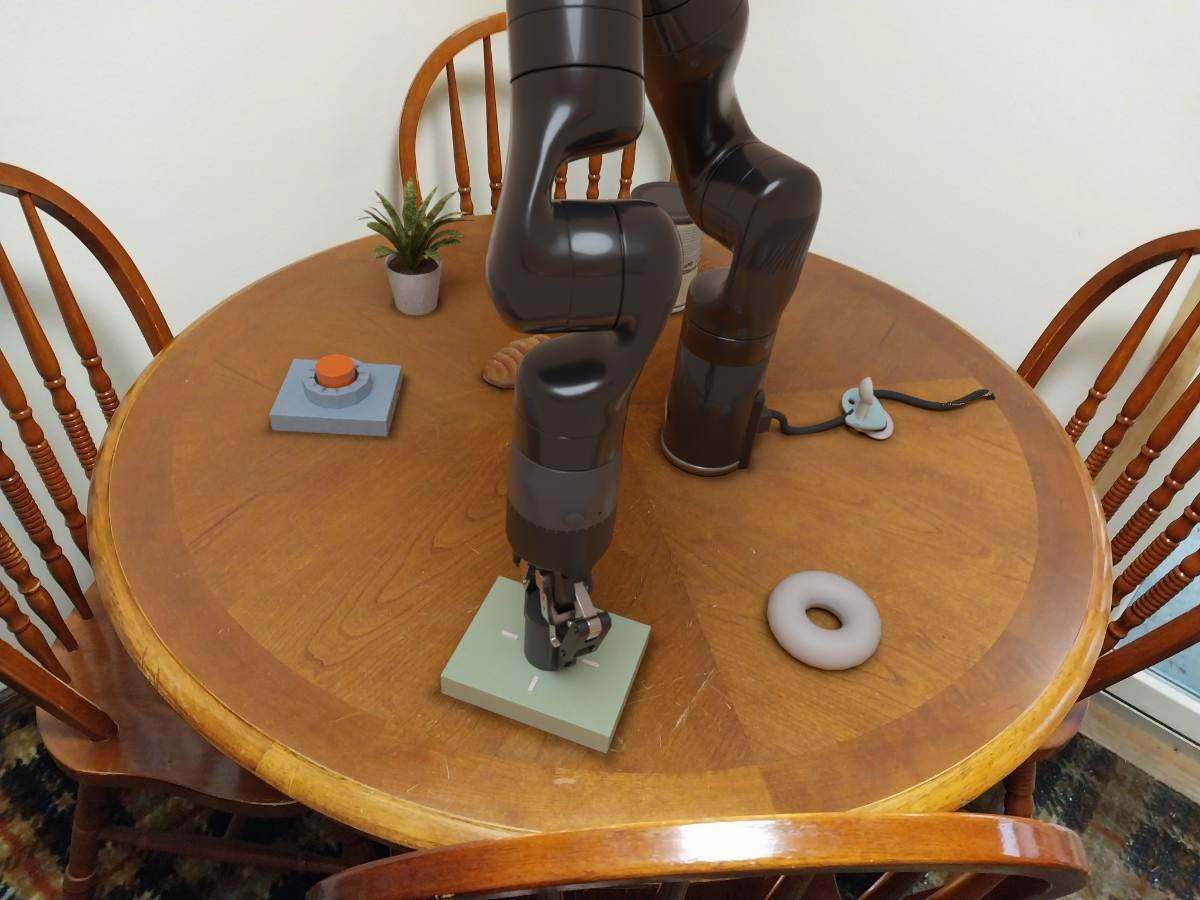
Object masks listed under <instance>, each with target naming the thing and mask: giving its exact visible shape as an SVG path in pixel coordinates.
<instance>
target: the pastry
mask: <svg viewBox="0 0 1200 900" xmlns="http://www.w3.org/2000/svg"><path fill="white" fill-rule="evenodd" d="M549 339H552V337H550V336H549V335H545V334H533V336H530V337H527V338H520V339H519V340H518V339H517V340H512V341H511V342H509V343H508V344H507V345H505V347H503V348H500V350H499V351H497V352H496V353H495V354H493V356H491V357H490V358H489V359H488V360H487V361H486V362H485V363H484V365H483V373H482V378H483V379H484V380H485V382H487V383H489V384H491V385H493V386H495V387H498V388H503V389H512V388H513V389H514V386H515V376H516V370H517V366H518V364H519V361H520V360H521V358H522V357H523V356H524V354H525V353H526V352H527V351H528V350H529V349H531V348H532V347H534V346H535V345H537V344H539V343H541V342H544V341H546V340H549Z"/></svg>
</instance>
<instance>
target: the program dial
mask: <svg viewBox="0 0 1200 900" xmlns="http://www.w3.org/2000/svg"><path fill="white" fill-rule="evenodd" d="M554 605H557V604H554V603H553V606H554ZM570 620H572V619H570ZM568 621H569V620H567V621H564V622H562V623H561V628H563V627H566V626H568ZM549 637H550V633H549V623H548V622H547V621H546V619H545V618H544V616H543V615H542V611H541V598H540V589H538V590H536V591H535V592H533V593H532V594H531V595H530V597H529V598H528V600H527V603H526V612H525V635H524V654H525V657H526V658H527V660H528V661H529V663H530V664H531V665H533V666H534V667H536V668H538V669H540V670H543V671H552V670H551V669H550V667H549V665H548V663H547V657H548V647H549ZM555 671H557V670H555Z"/></svg>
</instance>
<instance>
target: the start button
mask: <svg viewBox="0 0 1200 900" xmlns="http://www.w3.org/2000/svg"><path fill="white" fill-rule="evenodd" d="M351 358H352V357H351ZM351 358H350V356H348V355H345V354H341V353H340V354H339V353H336V354H335V353H333V354H328V355H325V356H323V357H321V358H319V359H317V360H318V361H317V363H316V365H315V370H316V376H317V381H318V383H319V384H320V385H321V386H323V387H325V388H336V389H337V388H341V387H345V386H349V385H350V384H352V383H353V382H354V381H355V379H356V374H355V366H354V361H353V360H352V359H351Z"/></svg>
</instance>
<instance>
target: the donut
mask: <svg viewBox="0 0 1200 900" xmlns="http://www.w3.org/2000/svg"><path fill="white" fill-rule="evenodd" d="M811 608H812V609H813V608H819V609H823V610H826V611H829V612H830V613H832V614H833V615H834V616H836V617H837V618H838V620H839V621H840V622H841V627H840V628H837V629H827V628H823V627H821V626H819V625H817V624H815V622H813V621H812V620H811V619H810V618H809V616H808V615H807V613H806V611H807V610H809V609H811ZM766 610H767V611H766V617H767V621H768V624H769V625H768V626H769V628H770V631H771V633H772V634H773V636H774V638H775V639H776V641H777V642H778V644H779V645H780V646H781V648H783V649H784V650H785V651H786V652H787V653H788V654H790V656H791V657H793V658H795V659H797V660H799V661H800V662H802V663H804V664H806V665H807V666H811V667H814V668H818V669H822V670H825V671H843V670H847V669H850V668H853V667H857V666H859V665H862V664H863V663H864V662H865V661H867V660H868V659H869V658H871V657H872V656H873V655H874V653H875V652H876V650H877V648H878V646H879V644H880V642H881V639H882V619H881V616H880V614H879V611H878V609H877V606H876V604H875V603H874V601H873V600H872V599H871V597H870V596H869V595H868V594H867V592H866V591H865V590H863V589H862V588H861V587H860V586H858V585H857V584H856V583H855V582H853V581H851V580H850V579H847V578H845V577H843V576H841V575H840V574H837V573H832V572H828V571H824V570H803V571H798V572H794V573H792V574H789V575H788V576H786V577H785V578H784V579H782V580H780V582H778V583H777V584H776V586H775V587H774V589H773V591H772V592H771V594H770V596H769V597H768V603H767V609H766Z"/></svg>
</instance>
